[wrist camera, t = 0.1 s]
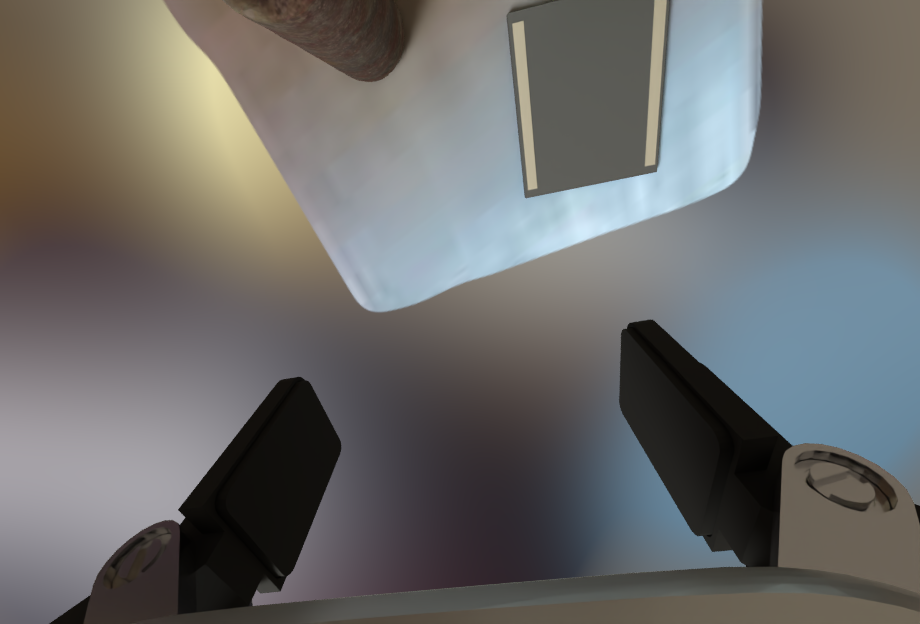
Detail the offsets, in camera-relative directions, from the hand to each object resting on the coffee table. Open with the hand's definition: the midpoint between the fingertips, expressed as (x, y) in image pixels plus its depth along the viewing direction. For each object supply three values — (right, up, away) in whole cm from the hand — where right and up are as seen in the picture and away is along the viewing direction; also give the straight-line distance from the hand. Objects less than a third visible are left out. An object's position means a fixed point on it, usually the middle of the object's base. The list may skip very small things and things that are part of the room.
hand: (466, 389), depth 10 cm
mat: (+12, +24, +23) cm, 35 cm away
